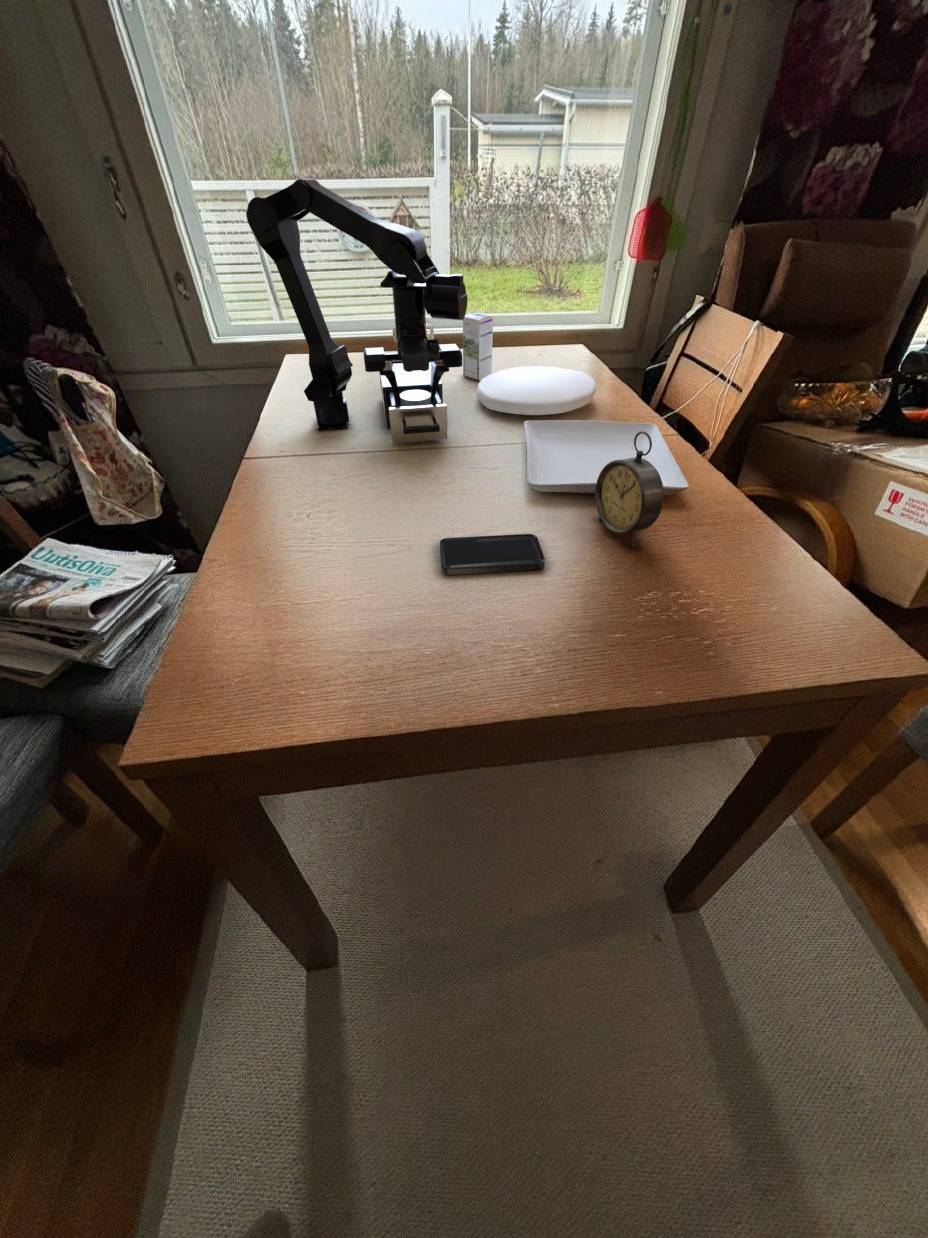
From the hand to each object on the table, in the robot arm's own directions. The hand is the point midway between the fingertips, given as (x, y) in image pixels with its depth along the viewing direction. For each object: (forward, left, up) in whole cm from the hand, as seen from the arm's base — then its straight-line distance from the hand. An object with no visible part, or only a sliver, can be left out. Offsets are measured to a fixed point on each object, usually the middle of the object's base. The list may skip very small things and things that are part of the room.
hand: (415, 402), depth 103 cm
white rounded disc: (+30, +14, -7) cm, 34 cm away
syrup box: (+20, +35, -7) cm, 41 cm away
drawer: (0, 0, -6) cm, 6 cm away
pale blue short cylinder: (0, 0, -1) cm, 1 cm away
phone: (+6, -46, -7) cm, 47 cm away
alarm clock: (+28, -43, -7) cm, 52 cm away
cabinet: (0, +13, -7) cm, 15 cm away
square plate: (+32, -21, -7) cm, 39 cm away
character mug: (+4, +41, -7) cm, 42 cm away
